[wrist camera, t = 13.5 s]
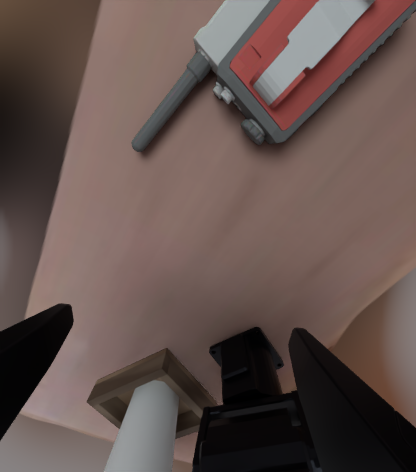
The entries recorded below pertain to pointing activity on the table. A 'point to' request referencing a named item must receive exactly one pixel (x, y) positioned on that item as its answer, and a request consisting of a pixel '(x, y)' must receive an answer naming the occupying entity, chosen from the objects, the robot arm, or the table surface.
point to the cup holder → (146, 370)
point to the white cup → (147, 431)
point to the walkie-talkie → (281, 59)
